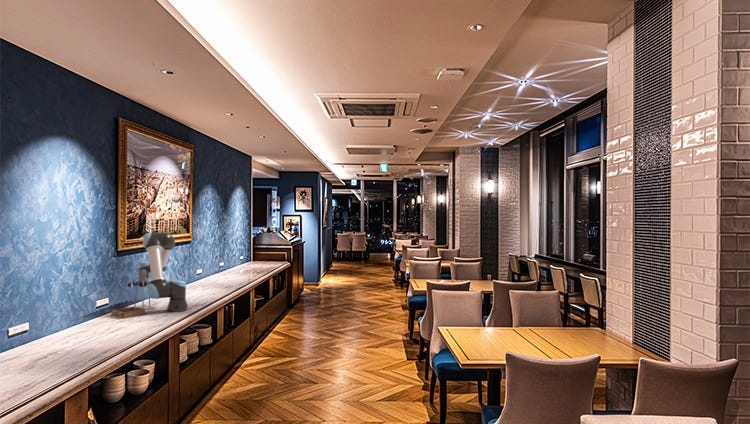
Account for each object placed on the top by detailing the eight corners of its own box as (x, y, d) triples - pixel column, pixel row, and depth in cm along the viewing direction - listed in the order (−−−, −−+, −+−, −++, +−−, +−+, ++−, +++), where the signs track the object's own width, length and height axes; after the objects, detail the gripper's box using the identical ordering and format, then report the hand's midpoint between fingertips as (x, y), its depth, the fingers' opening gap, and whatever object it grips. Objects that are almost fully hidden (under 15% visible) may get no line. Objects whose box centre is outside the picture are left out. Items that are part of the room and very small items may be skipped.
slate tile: (154, 308, 374) (154, 307, 374) (137, 311, 362) (137, 310, 362) (144, 306, 382) (144, 305, 382) (127, 309, 370) (127, 308, 370)
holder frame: (145, 314, 353) (145, 309, 353) (122, 318, 338) (123, 313, 338) (133, 311, 361) (133, 306, 361) (110, 315, 347) (110, 310, 347)
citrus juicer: (143, 309, 366) (143, 270, 366) (130, 308, 367) (131, 270, 367) (150, 306, 378) (151, 268, 378) (138, 306, 378) (138, 268, 378)
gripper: (159, 285, 396) (158, 289, 376) (125, 287, 386) (123, 291, 366) (159, 277, 396) (158, 280, 376) (126, 278, 386) (123, 281, 366)
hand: (141, 286), depth 371 cm, fingers open, 13 cm apart
